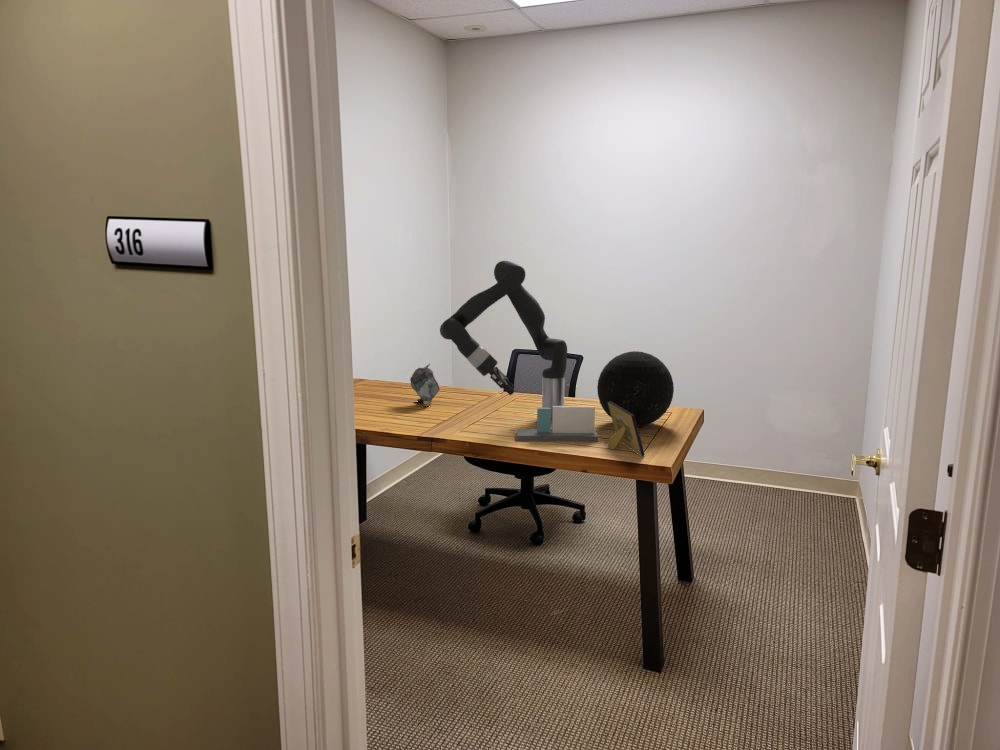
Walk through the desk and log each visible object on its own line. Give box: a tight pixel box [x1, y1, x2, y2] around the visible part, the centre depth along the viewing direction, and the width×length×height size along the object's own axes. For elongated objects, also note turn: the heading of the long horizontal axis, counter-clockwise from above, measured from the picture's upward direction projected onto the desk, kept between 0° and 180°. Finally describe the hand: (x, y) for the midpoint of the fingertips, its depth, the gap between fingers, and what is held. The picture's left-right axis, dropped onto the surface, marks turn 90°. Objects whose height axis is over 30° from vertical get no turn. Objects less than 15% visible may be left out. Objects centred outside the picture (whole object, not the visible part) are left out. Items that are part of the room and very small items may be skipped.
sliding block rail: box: [516, 405, 599, 443], centre depth 263 cm, size 10×30×12 cm, turn 88°
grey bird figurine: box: [409, 363, 441, 407], centre depth 317 cm, size 14×15×18 cm
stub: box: [536, 407, 552, 432], centre depth 263 cm, size 1×5×9 cm, turn 88°
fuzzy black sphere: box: [596, 350, 675, 427], centre depth 280 cm, size 30×30×30 cm
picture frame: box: [606, 401, 646, 457], centre depth 249 cm, size 23×9×15 cm, turn 12°
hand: (512, 391), depth 261 cm, fingers open, 8 cm apart
